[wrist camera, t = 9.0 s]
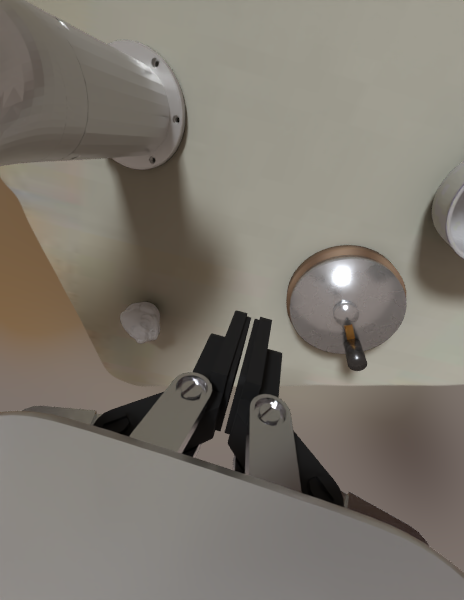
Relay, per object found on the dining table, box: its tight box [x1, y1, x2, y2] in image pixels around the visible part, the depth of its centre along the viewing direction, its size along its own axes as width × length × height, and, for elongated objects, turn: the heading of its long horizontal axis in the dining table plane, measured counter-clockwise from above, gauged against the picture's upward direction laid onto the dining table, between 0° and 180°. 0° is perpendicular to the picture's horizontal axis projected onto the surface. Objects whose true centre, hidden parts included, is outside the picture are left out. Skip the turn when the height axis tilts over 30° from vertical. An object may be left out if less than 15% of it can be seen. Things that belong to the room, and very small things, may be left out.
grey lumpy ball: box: [120, 302, 160, 343], centre depth 45 cm, size 6×7×7 cm
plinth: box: [286, 245, 406, 322], centre depth 39 cm, size 15×15×2 cm
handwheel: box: [290, 255, 406, 371], centre depth 35 cm, size 14×14×6 cm
